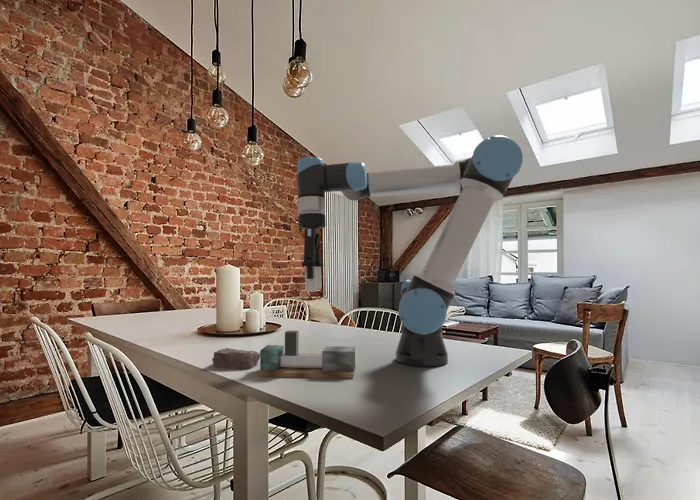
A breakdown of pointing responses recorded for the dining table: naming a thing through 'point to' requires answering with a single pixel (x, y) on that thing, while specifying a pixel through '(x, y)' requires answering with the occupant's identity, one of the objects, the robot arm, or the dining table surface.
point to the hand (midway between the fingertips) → (314, 290)
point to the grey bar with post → (297, 354)
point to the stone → (235, 358)
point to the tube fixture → (333, 366)
